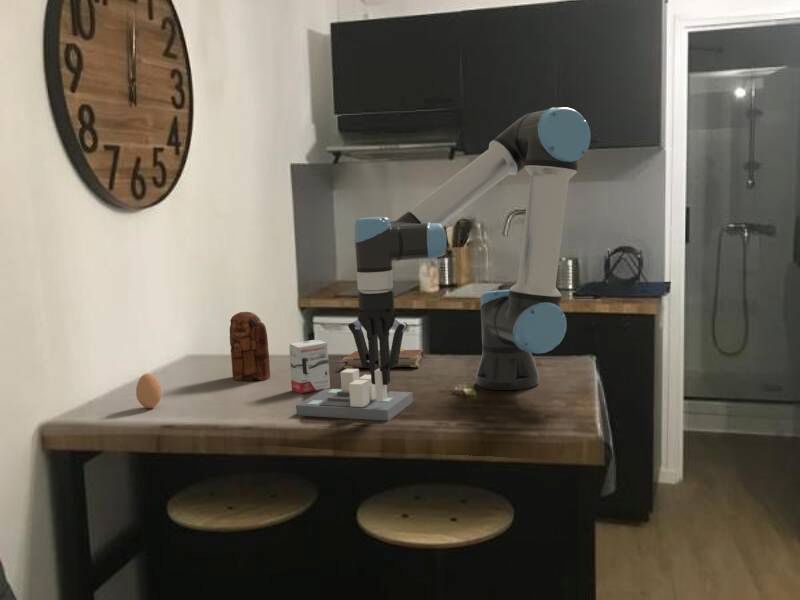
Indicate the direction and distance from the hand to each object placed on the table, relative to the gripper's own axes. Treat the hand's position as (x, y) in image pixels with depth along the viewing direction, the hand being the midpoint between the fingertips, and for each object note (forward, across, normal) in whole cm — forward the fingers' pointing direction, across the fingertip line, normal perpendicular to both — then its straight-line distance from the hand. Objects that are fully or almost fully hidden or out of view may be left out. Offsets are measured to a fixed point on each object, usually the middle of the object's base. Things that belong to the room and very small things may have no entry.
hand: (381, 398), depth 182 cm
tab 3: (+2, +5, -5) cm, 7 cm away
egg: (+4, +59, +3) cm, 59 cm away
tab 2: (+2, +5, 0) cm, 5 cm away
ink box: (+4, +28, -20) cm, 34 cm away
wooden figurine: (+4, +50, -28) cm, 57 cm away
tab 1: (+2, +12, -10) cm, 16 cm away
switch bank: (+4, +9, -5) cm, 11 cm away
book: (+5, +21, -49) cm, 53 cm away
